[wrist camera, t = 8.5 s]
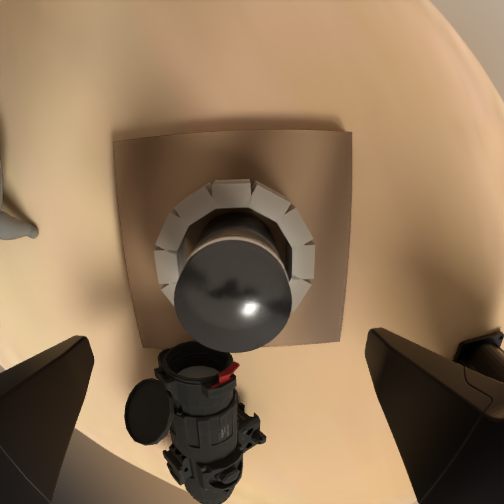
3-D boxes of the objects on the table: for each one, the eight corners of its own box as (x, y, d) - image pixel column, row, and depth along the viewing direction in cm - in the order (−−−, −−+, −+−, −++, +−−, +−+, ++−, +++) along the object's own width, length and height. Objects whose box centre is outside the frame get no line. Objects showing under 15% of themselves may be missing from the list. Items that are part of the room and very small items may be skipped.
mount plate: (346, 132, 18) (368, 129, 14) (336, 333, 22) (349, 362, 19) (119, 142, 17) (95, 141, 14) (146, 340, 22) (133, 368, 18)
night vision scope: (219, 444, 29) (139, 482, 23) (213, 302, 24) (89, 338, 17) (269, 489, 23) (184, 539, 17) (290, 347, 18) (137, 417, 12)
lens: (275, 209, 18) (294, 244, 11) (276, 284, 19) (291, 351, 13) (194, 212, 18) (165, 248, 11) (200, 286, 19) (180, 353, 13)
